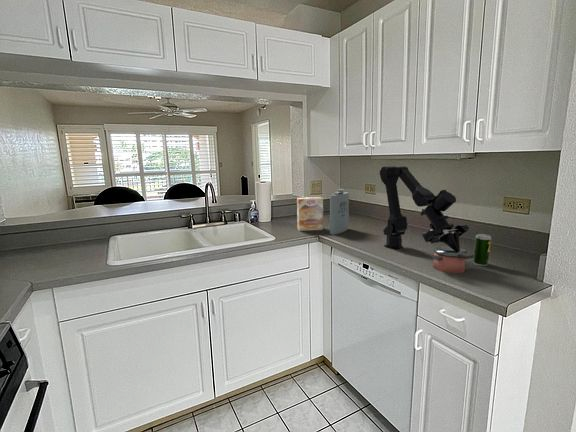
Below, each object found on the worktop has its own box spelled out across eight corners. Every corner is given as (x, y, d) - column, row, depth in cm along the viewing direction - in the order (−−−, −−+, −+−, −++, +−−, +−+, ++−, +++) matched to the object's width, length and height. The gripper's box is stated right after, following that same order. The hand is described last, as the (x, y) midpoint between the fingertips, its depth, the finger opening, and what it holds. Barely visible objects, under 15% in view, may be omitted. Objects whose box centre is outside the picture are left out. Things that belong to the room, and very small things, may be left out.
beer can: (473, 265, 125) (475, 236, 122) (472, 261, 129) (475, 233, 127) (488, 267, 122) (492, 237, 120) (487, 263, 127) (491, 234, 124)
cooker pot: (421, 265, 125) (422, 251, 124) (449, 260, 130) (450, 246, 129) (445, 276, 114) (447, 260, 113) (475, 269, 120) (476, 254, 119)
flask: (335, 234, 176) (336, 191, 171) (328, 233, 178) (329, 190, 174) (350, 229, 189) (351, 188, 184) (343, 228, 192) (344, 187, 187)
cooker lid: (427, 250, 124) (427, 248, 124) (448, 247, 128) (448, 245, 128) (458, 260, 111) (458, 258, 111) (480, 256, 115) (481, 253, 115)
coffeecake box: (298, 231, 186) (298, 199, 182) (297, 228, 193) (296, 197, 189) (323, 229, 188) (323, 198, 184) (320, 227, 195) (320, 196, 191)
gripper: (441, 226, 135) (461, 258, 127) (407, 231, 128) (426, 265, 120) (458, 211, 126) (481, 244, 118) (423, 215, 119) (445, 251, 111)
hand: (458, 251), depth 117 cm, fingers closed, pressing on cooker lid
